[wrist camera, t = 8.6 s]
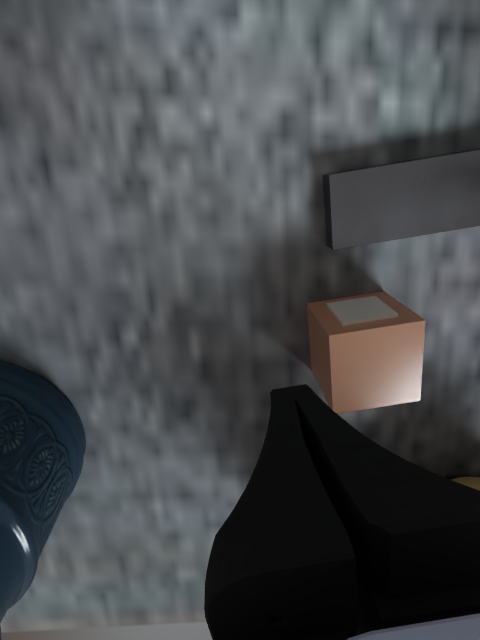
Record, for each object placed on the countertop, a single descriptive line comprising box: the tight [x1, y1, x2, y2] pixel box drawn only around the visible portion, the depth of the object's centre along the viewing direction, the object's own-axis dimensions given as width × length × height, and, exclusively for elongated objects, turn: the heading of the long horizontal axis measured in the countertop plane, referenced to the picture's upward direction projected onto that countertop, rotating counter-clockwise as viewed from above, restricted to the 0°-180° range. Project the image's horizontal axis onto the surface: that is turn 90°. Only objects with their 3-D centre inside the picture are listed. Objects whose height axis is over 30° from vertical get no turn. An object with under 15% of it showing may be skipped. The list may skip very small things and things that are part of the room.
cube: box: [307, 291, 425, 414], centre depth 21 cm, size 5×5×5 cm
